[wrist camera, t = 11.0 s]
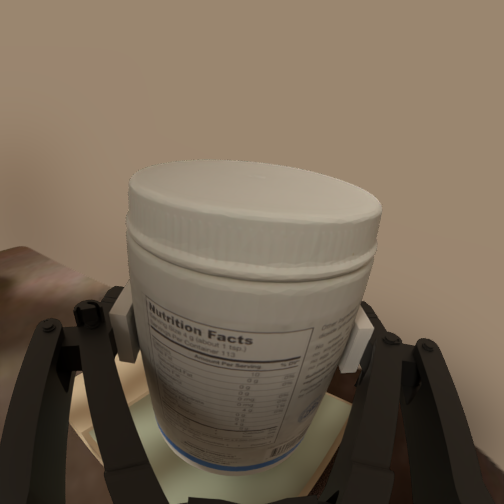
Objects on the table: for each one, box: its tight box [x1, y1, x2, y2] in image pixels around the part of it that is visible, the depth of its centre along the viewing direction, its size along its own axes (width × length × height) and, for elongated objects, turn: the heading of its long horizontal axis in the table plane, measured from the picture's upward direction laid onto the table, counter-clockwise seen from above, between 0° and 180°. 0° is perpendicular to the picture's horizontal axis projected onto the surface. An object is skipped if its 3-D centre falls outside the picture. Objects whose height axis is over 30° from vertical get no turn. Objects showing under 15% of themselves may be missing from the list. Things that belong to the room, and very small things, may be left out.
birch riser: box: [69, 351, 352, 504], centre depth 21 cm, size 22×16×6 cm
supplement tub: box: [126, 160, 382, 476], centre depth 14 cm, size 10×10×15 cm
